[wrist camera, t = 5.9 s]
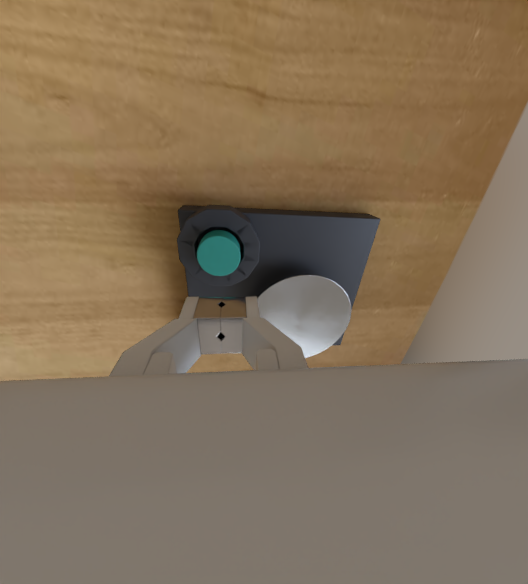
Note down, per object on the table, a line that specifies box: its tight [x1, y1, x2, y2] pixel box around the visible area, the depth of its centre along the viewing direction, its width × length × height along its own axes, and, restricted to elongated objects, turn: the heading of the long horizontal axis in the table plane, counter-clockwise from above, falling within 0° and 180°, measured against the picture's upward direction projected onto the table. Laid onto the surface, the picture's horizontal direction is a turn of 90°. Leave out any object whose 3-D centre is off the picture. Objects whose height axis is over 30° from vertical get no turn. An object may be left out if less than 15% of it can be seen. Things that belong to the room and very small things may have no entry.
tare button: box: [197, 230, 241, 276], centre depth 16 cm, size 3×3×2 cm
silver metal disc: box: [257, 273, 351, 358], centre depth 21 cm, size 10×10×1 cm
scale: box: [177, 205, 380, 345], centre depth 21 cm, size 16×14×4 cm
